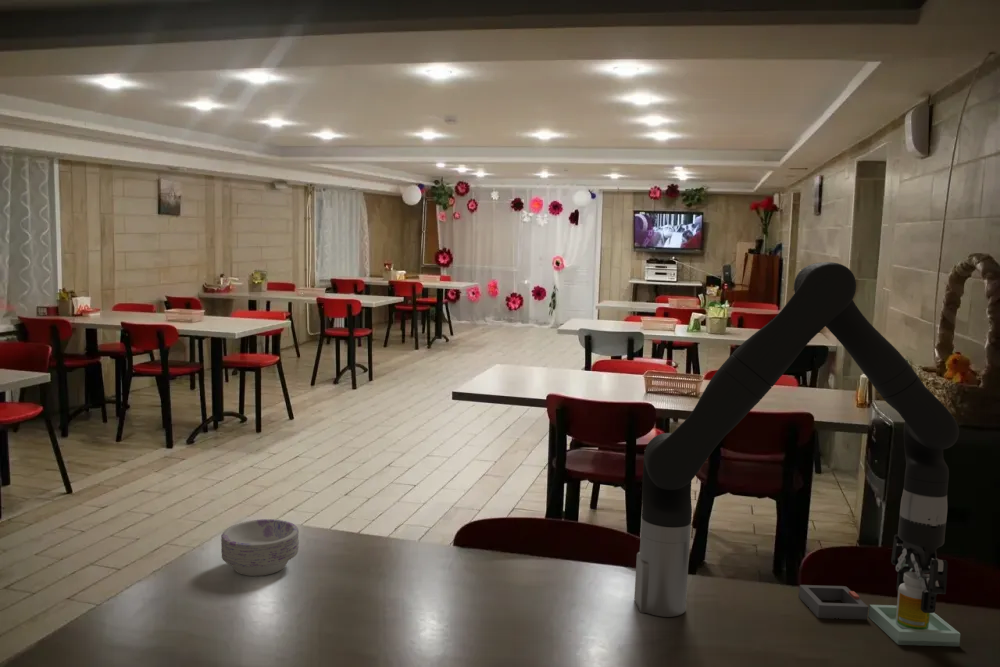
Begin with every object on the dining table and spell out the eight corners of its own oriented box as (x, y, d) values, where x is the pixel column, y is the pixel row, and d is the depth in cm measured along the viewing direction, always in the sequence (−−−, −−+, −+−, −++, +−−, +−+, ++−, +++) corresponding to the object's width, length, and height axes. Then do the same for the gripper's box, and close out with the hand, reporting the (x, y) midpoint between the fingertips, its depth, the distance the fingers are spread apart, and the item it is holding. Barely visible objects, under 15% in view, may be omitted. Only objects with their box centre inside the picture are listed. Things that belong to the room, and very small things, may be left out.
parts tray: (897, 644, 142) (899, 631, 141) (868, 616, 153) (869, 604, 152) (959, 646, 142) (960, 633, 142) (925, 618, 153) (926, 606, 153)
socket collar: (818, 617, 151) (819, 602, 151) (798, 596, 161) (799, 582, 160) (867, 619, 151) (868, 604, 151) (845, 598, 161) (846, 583, 160)
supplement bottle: (932, 635, 144) (937, 583, 143) (900, 631, 145) (904, 579, 144) (922, 621, 149) (927, 571, 148) (891, 618, 150) (896, 568, 150)
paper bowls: (205, 577, 159) (205, 538, 158) (246, 550, 174) (246, 515, 173) (275, 587, 155) (276, 547, 155) (311, 559, 170) (311, 522, 170)
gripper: (883, 503, 152) (875, 585, 154) (923, 528, 138) (915, 618, 140) (921, 504, 152) (914, 586, 154) (966, 530, 138) (957, 620, 140)
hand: (914, 601), depth 147 cm, fingers open, 8 cm apart
